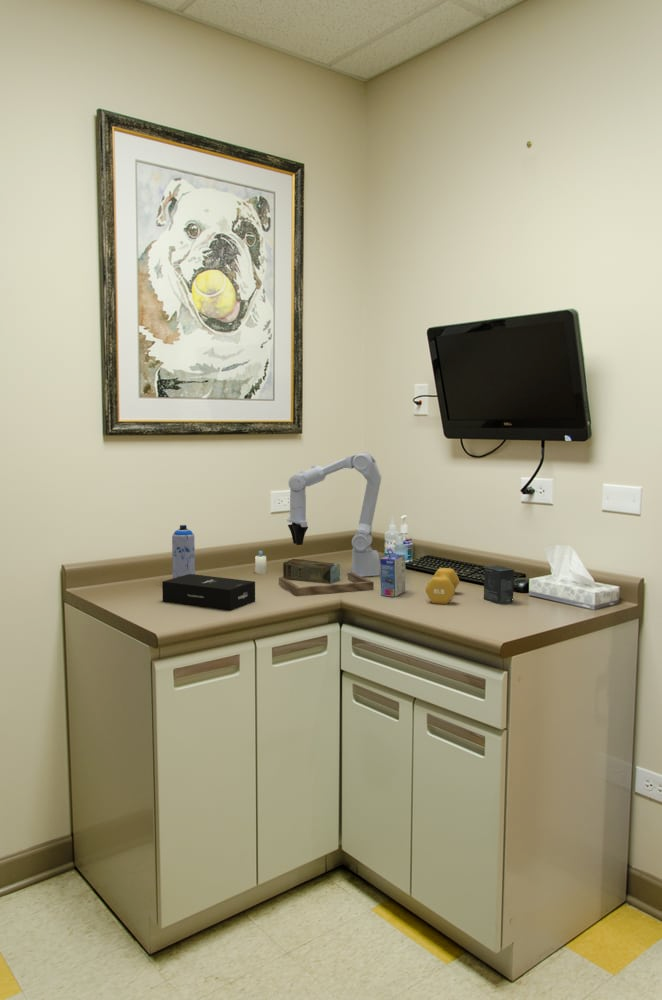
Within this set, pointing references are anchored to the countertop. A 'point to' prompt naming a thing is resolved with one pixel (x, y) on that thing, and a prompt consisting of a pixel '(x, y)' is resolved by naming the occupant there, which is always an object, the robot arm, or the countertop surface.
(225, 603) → the box
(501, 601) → the box
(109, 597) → the countertop surface
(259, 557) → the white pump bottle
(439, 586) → the dumbbell
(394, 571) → the ink cartridge box
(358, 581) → the display bay
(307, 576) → the beverage carton
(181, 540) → the aerosol can
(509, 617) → the countertop surface
